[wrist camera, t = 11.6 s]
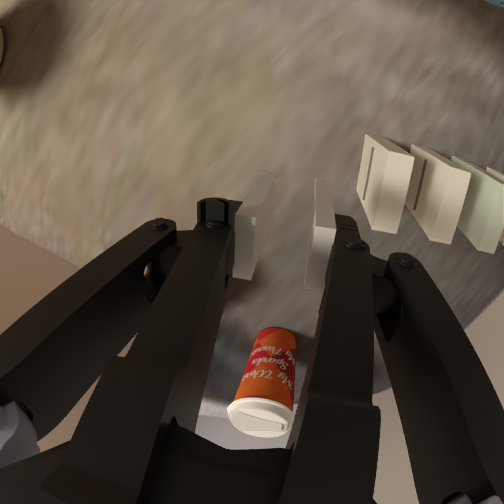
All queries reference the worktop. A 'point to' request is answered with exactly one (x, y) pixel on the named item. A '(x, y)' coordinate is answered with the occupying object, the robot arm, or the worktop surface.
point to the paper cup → (267, 386)
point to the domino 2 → (436, 193)
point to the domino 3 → (482, 207)
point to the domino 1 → (384, 182)
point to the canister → (1, 45)
